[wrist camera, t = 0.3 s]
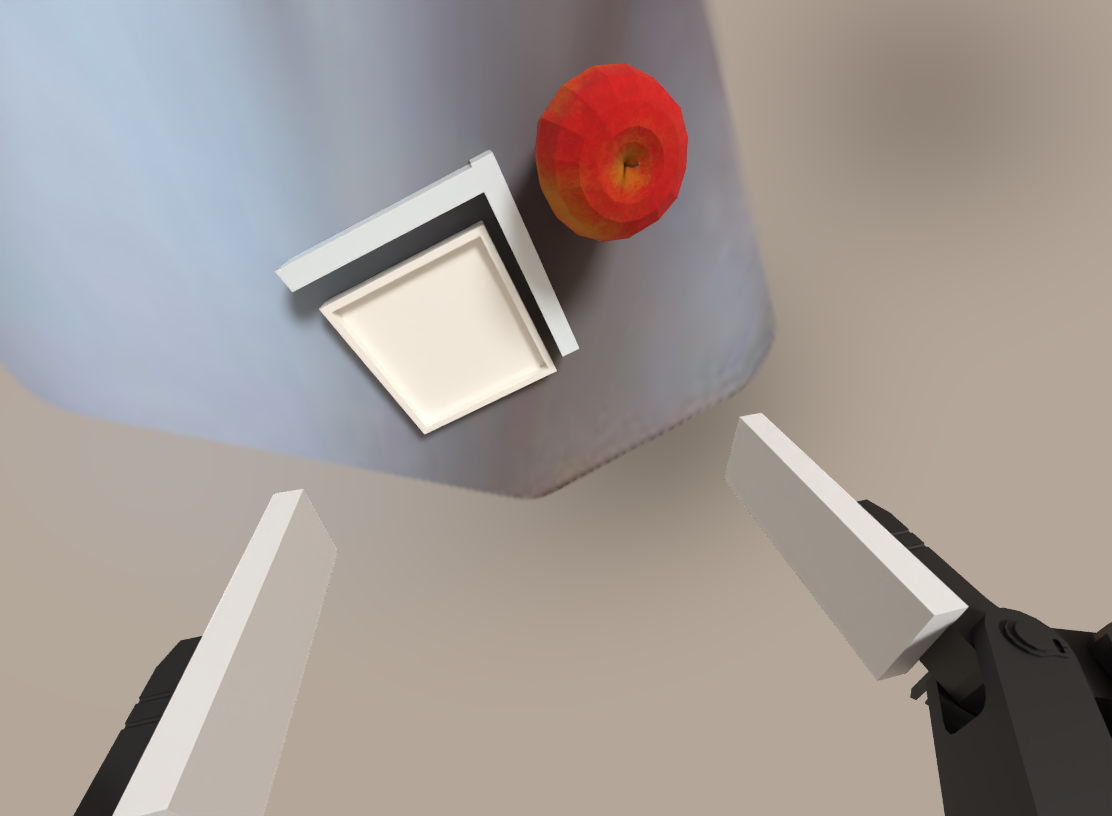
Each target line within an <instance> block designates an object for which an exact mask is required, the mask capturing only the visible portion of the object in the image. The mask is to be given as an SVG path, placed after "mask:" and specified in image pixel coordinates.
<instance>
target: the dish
mask: <svg viewBox="0 0 1112 816" xmlns="http://www.w3.org/2000/svg"><path fill="white" fill-rule="evenodd" d="M319 310H320V311H321V312H322V313H323V315H324V316H325V317H326V318H327V319H328V320H329V322H330V323H331V324H332V325H333V326H334V328H335V329H336V330H337V331H338V332H339V334H340V335H341V336H342V337H343V338H344V339H345V341H346V342H347V343H348V344H349V345H350V347H351V348H352V349H353V350H354V351H355V352H356V354H357V355H358V356H359V357H360V358H361V360H362V361H363V362H364V363H365V364H366V366H367V367H368V368H369V369H370V370H371V371H372V373H373V374H374V375H375V376H376V377H377V379H378V380H379V381H380V382H381V383H382V384H383V386H384V387H385V388H386V389H387V390H388V392H389V393H390V394H391V395H392V396H393V398H394V399H395V400H396V401H397V402H398V403H399V405H400V406H401V407H402V408H403V409H404V411H405V412H406V413H407V414H408V415H409V416H410V418H411V419H412V420H413V421H414V422H415V424H416V425H417V426H418V427H419V428H420V430H421V431H422V432H423V433H424V434H427V433H429V432H431V431H433V430H435V429H437V428H439V427H441V426H443V425H445V424H448V423H450V422H452V421H454V420H456V419H458V418H460V417H462V416H464V415H466V414H468V413H470V412H472V411H475V410H477V409H479V408H481V407H483V406H485V405H487V404H489V403H491V402H493V401H495V400H497V399H499V398H502V397H504V396H506V395H508V394H510V393H512V392H514V391H516V390H518V389H520V388H522V387H524V386H526V385H529V384H531V383H533V382H535V381H537V380H539V379H541V378H543V377H545V376H547V375H549V374H551V373H553V372H556V371H557V370H556V368H555V365H554V363H553V361H552V359H551V357H550V355H549V353H548V351H547V349H546V347H545V345H544V343H543V341H542V339H541V337H540V335H539V333H538V331H537V329H536V327H535V325H534V323H533V321H532V319H531V317H530V315H529V313H528V311H527V309H526V307H525V305H524V303H523V301H522V299H521V297H520V295H519V293H518V291H517V289H516V287H515V285H514V283H513V281H512V279H511V277H510V275H509V273H508V271H507V269H506V267H505V265H504V263H503V261H502V259H501V257H500V255H499V253H498V251H497V249H496V247H495V245H494V243H493V241H492V239H491V237H490V235H489V233H488V231H487V229H486V227H485V225H484V223H483V221H482V220H481V221H479V222H477V223H475V224H473V225H471V226H470V227H468V228H466V229H464V230H462V231H460V232H458V233H456V234H454V235H452V236H450V237H448V238H446V239H444V240H443V241H441V242H439V243H437V244H435V245H433V246H431V247H429V248H427V249H425V250H423V251H421V252H419V253H417V254H415V255H414V256H412V257H410V258H408V259H406V260H404V261H402V262H400V263H398V264H396V265H394V266H392V267H390V268H388V269H387V270H385V271H383V272H381V273H379V274H377V275H375V276H373V277H371V278H369V279H367V280H365V281H363V282H361V283H360V284H358V285H356V286H354V287H352V288H350V289H348V290H346V291H344V292H342V293H340V294H338V295H336V296H334V297H332V298H331V299H329V300H327V301H325V302H324V304H323V305H322V306H321V308H320V309H319Z"/></svg>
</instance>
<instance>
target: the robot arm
mask: <svg viewBox="0 0 1112 816" xmlns="http://www.w3.org/2000/svg"><path fill="white" fill-rule="evenodd" d="M724 480H725V481H726V483H727V484H728V485H729V486H730V488H731V489H732V490H733V492H734V493H735V494H736V496H737V497H738V498H739V500H740V501H741V502H742V504H743V505H744V506H745V508H746V509H747V510H748V512H749V513H750V514H751V515H752V517H753V518H754V519H755V521H756V522H757V523H758V524H759V526H760V527H761V528H762V530H763V531H764V533H765V534H766V535H767V537H768V538H769V539H770V540H771V541H772V543H773V544H774V546H775V547H776V548H777V550H778V551H779V552H780V553H781V555H782V556H783V557H784V559H785V560H786V561H787V563H788V564H789V565H790V567H791V568H792V569H793V571H794V572H795V573H796V575H797V576H798V577H799V579H800V580H801V581H802V582H803V584H804V585H805V586H806V588H807V589H808V590H809V592H810V593H811V594H812V596H813V597H814V598H815V600H816V601H817V602H818V603H819V605H820V606H821V607H822V609H823V610H824V611H825V613H826V614H827V615H828V617H829V618H830V619H831V620H832V622H833V623H834V625H835V626H836V627H837V628H838V630H839V631H840V632H841V634H842V635H843V636H844V638H845V639H846V640H847V641H848V643H849V644H850V646H851V647H852V648H853V649H854V651H855V652H856V653H857V655H858V656H859V657H860V658H861V660H862V661H863V663H864V664H865V665H866V667H867V668H868V669H869V671H870V672H871V673H872V674H873V676H874V677H875V678H876V680H877V681H879V680H883V679H886V678H890V677H894V676H897V675H901V674H905V673H907V672H908V671H909V670H910V669H911V668H912V667H913V666H914V665H915V664H916V663H917V661H918V660H920V662H922V663H923V665H924V666H925V667H926V668H927V669H928V671H929V672H928V673H927V674H926V675H925V676H924V677H923V678H922V679H921V680H920V681H919V682H918V683H917V684H916V685H915V686H914V687H913V688H912V689H911V696H910V697H911V698H913V699H915V700H917V699H918V698H919V697H920V696H921V695H922V694H923V693H924V692H925V691H926V690H927V697H928V699H927V700H926V702H925V704H927V705H929V710H930V717H931V724H932V731H933V738H934V744H935V751H936V758H937V765H938V771H939V778H940V784H941V792H942V798H943V805H944V812H945V816H1112V622H1111V623H1109V624H1108V625H1106V626H1105V627H1104V628H1102V629H1101V630H1100V631H1098V632H1097V633H1092V632H1083V631H1074V630H1065V629H1055V628H1050V627H1048V626H1047V625H1045V624H1044V623H1042V622H1041V621H1039V620H1037V619H1036V618H1034V617H1031V616H1029V615H1027V614H1025V613H1022V612H1020V611H1016V610H1012V609H1007V608H999V607H997V606H996V605H994V604H993V603H992V602H990V601H989V600H988V599H987V598H985V597H984V596H983V595H982V594H981V593H980V592H979V591H978V590H976V589H975V588H974V587H973V586H972V585H971V584H970V583H969V582H967V581H966V580H965V579H964V578H963V577H962V576H961V575H960V574H958V573H957V572H956V571H955V570H954V569H953V568H952V567H951V566H949V565H948V564H947V563H946V562H945V561H944V560H943V559H942V558H940V557H939V556H938V555H937V554H936V553H935V552H934V551H932V550H931V549H930V548H929V547H926V546H925V545H924V542H922V541H921V540H920V539H919V538H918V537H917V536H916V535H915V534H913V533H910V532H909V530H908V528H907V527H906V526H904V525H903V524H902V523H901V522H900V521H899V520H898V519H896V518H895V517H894V516H893V515H892V514H891V513H889V512H888V511H886V510H884V509H883V508H881V507H879V506H877V505H875V504H874V503H872V502H870V501H868V500H862V501H858V502H856V501H855V500H854V499H853V498H852V497H851V496H850V495H849V494H848V493H847V492H845V491H844V490H843V489H842V488H841V487H840V486H839V485H838V484H837V483H836V482H835V481H834V480H833V479H831V478H830V477H829V476H828V475H827V474H826V473H825V472H824V471H823V470H822V469H821V468H820V467H818V465H817V464H816V463H814V462H813V461H812V460H811V459H810V458H809V457H808V456H807V455H806V454H805V453H804V452H803V451H802V450H800V449H799V448H798V447H797V446H796V445H795V444H794V443H793V442H792V441H791V440H790V439H789V438H787V437H786V435H784V434H783V433H782V432H781V431H780V430H779V429H778V428H777V427H776V426H775V425H774V424H773V423H772V422H770V421H769V420H768V419H767V418H766V417H765V416H764V415H763V414H762V413H759V414H753V415H747V416H741V417H739V421H738V425H737V429H736V433H735V437H734V441H733V445H732V449H731V453H730V458H729V461H728V465H727V469H726V473H725V477H724ZM337 553H338V551H337V549H336V547H335V545H334V543H333V542H332V540H331V538H330V536H329V534H328V533H327V531H326V529H325V527H324V525H323V523H322V522H321V520H320V518H319V516H318V515H317V513H316V511H315V509H314V507H313V505H312V504H311V502H310V500H309V498H308V497H307V495H306V493H305V491H304V489H300V490H294V491H288V492H282V493H276V494H274V495H273V497H272V498H271V500H270V502H269V505H268V506H267V508H266V510H265V512H264V515H263V516H262V518H261V521H260V522H259V524H258V526H257V528H256V530H255V532H254V534H253V536H252V538H251V540H250V542H249V544H248V546H247V548H246V551H245V552H244V554H243V556H242V558H241V561H240V562H239V564H238V567H237V568H236V570H235V572H234V574H233V576H232V578H231V580H230V582H229V584H228V586H227V588H226V590H225V592H224V594H223V596H222V598H221V600H220V602H219V604H218V606H217V608H216V610H215V612H214V614H213V616H212V618H211V620H210V622H209V624H208V626H207V628H206V630H205V632H204V634H203V636H200V637H195V638H191V639H186V640H181V641H180V642H179V643H178V644H177V645H176V646H175V647H174V648H173V650H172V651H171V652H170V653H169V654H168V655H167V656H166V657H165V659H164V660H163V661H162V662H161V663H160V664H159V665H158V666H157V667H156V669H155V671H154V672H153V674H152V676H151V678H150V680H149V681H148V683H147V685H146V687H145V688H144V690H143V692H142V694H141V696H140V697H139V699H140V701H139V703H138V704H136V705H135V706H134V708H133V710H132V712H131V713H130V715H129V717H128V719H127V721H126V723H125V724H126V726H125V728H124V729H123V730H121V731H120V733H119V735H118V737H117V739H116V740H115V742H114V744H113V746H112V747H111V749H110V751H109V753H108V755H107V757H106V759H105V760H104V762H103V764H102V765H101V767H100V769H99V771H98V773H97V774H96V776H95V778H94V780H93V781H92V783H91V785H90V787H89V789H88V790H87V792H86V794H85V796H84V798H83V799H82V801H81V803H80V805H79V807H78V808H77V810H76V812H75V814H74V816H263V815H264V812H265V808H266V805H267V801H268V797H269V794H270V791H271V787H272V783H273V780H274V776H275V773H276V769H277V766H278V762H279V759H280V755H281V751H282V748H283V745H284V741H285V737H286V734H287V730H288V727H289V723H290V720H291V716H292V712H293V709H294V705H295V702H296V698H297V695H298V691H299V688H300V684H301V681H302V677H303V673H304V670H305V666H306V663H307V659H308V656H309V652H310V649H311V645H312V642H313V638H314V634H315V631H316V627H317V624H318V620H319V617H320V613H321V609H322V606H323V603H324V599H325V595H326V592H327V588H328V585H329V581H330V578H331V574H332V570H333V567H334V563H335V560H336V556H337Z"/></svg>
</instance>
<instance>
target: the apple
mask: <svg viewBox="0 0 1112 816" xmlns="http://www.w3.org/2000/svg"><path fill="white" fill-rule="evenodd" d="M687 144H688V136H687V132H686V128H685V124H684V120H683V116H682V112H681V108H680V107H679V106H678V104H677V103H676V102H675V101H674V100H673V99H672V97H671V96H670V95H669V94H668V93H667V92H666V90H665V89H664V88H663V87H662V86H661V85H660V84H659V83H658V82H657V80H656V79H655V78H654V77H652V76H650V75H648V74H646V73H644V72H642V71H640V70H638V69H636V68H634V67H632V66H630V65H628V64H611V65H597V66H592V67H590V68H589V69H587V70H586V71H584V72H582V73H581V74H579V75H578V76H576V77H575V78H573V79H571V80H570V81H568V82H567V83H565V84H564V85H562V87H561V88H560V89H559V91H558V92H557V93H556V95H555V96H554V98H553V99H552V101H551V103H550V104H549V106H548V107H547V109H546V110H545V112H544V113H543V115H542V116H541V118H540V119H539V121H538V127H537V137H536V146H535V159H536V165H537V171H538V177H539V183H540V186H541V189H542V192H543V193H544V195H545V197H546V199H547V201H548V202H549V204H550V206H551V208H552V210H553V212H554V213H555V215H556V217H557V218H558V219H559V220H561V221H562V222H563V223H564V224H565V225H567V226H568V227H569V228H570V229H571V230H572V231H574V232H575V233H576V234H577V235H580V236H584V237H587V238H591V239H595V240H599V241H602V242H604V241H611V240H618V239H625V238H630V237H631V236H633V235H635V234H636V233H638V232H640V231H641V230H643V229H644V228H646V227H648V226H649V225H651V224H653V223H654V222H656V221H658V220H659V219H660V218H661V217H662V215H663V214H664V213H665V212H666V211H667V209H668V208H669V207H670V206H671V204H672V203H673V202H674V201H675V200H676V198H677V197H678V193H679V190H680V187H681V184H682V180H683V177H684V174H685V170H686V161H687Z"/></svg>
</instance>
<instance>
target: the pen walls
mask: <svg viewBox="0 0 1112 816" xmlns="http://www.w3.org/2000/svg"><path fill="white" fill-rule="evenodd" d="M469 161H470V164H468V165H466V166H464V167H462V168H460V169H458V170H456V171H455V172H453V173H451V174H449V175H447V176H445V177H443V178H441V179H439V180H438V181H436V182H434V183H432V184H430V185H428V186H426V187H424V188H422V189H421V190H419V191H417V192H415V193H413V194H411V195H409V196H407V197H406V198H404V199H402V200H400V201H398V202H396V203H394V204H392V205H390V206H389V207H387V208H385V209H383V210H381V211H379V212H377V213H375V214H373V215H372V216H370V217H368V218H366V219H364V220H362V221H360V222H358V223H357V224H355V225H353V226H351V227H349V228H347V229H345V230H343V231H341V232H340V233H338V234H336V235H334V236H332V237H330V238H328V239H326V240H324V241H323V242H321V243H319V244H317V245H315V246H313V247H311V248H309V249H308V250H306V251H304V252H302V253H300V254H298V255H296V256H294V257H292V258H291V259H290V260H288V261H287V262H286V263H285V264H283V265H282V266H281V267H280V268H279V269H277V270H276V271H275V272H276V273H277V275H278V276H279V277H280V278H281V279H282V280H283V282H284V283H285V284H286V285H287V286H288V287H289V289H290V290H291V291H292V292H294V291H296V290H298V289H300V288H302V287H303V286H305V285H307V284H309V283H311V282H313V281H315V280H317V279H319V278H321V277H323V276H324V275H326V274H328V273H330V272H332V271H334V270H336V269H338V268H340V267H342V266H344V265H345V264H347V263H349V262H351V261H353V260H355V259H357V258H359V257H361V256H363V255H365V254H366V253H368V252H370V251H372V250H374V249H376V248H378V247H380V246H382V245H384V244H386V243H387V242H389V241H391V240H393V239H395V238H397V237H399V236H401V235H403V234H405V233H407V232H409V231H410V230H412V229H414V228H416V227H418V226H420V225H422V224H424V223H426V222H428V221H430V220H431V219H433V218H435V217H437V216H439V215H441V214H443V213H445V212H447V211H449V210H451V209H452V208H454V207H456V206H458V205H460V204H462V203H464V202H466V201H468V200H470V199H472V198H473V197H475V196H477V195H479V194H481V193H483V192H484V193H485V195H486V197H487V199H488V201H489V203H490V205H491V207H492V209H493V212H494V214H495V216H496V218H497V220H498V222H499V224H500V226H501V228H502V230H503V232H504V235H505V237H506V239H507V241H508V243H509V245H510V247H511V249H512V251H513V253H514V256H515V258H516V260H517V262H518V264H519V266H520V268H521V270H522V272H523V274H524V276H525V279H526V281H527V283H528V285H529V287H530V289H531V291H532V293H533V295H534V297H535V299H536V302H537V304H538V306H539V308H540V310H541V312H542V314H543V316H544V318H545V320H546V322H547V325H548V327H549V329H550V331H551V333H552V335H553V337H554V339H555V341H556V343H557V345H558V348H559V350H560V352H561V354H562V356H565V355H567V354H569V353H571V352H573V351H575V350H577V349H579V347H578V345H577V342H576V340H575V338H574V336H573V333H572V331H571V329H570V327H569V324H568V322H567V320H566V317H565V315H564V313H563V311H562V308H561V306H560V304H559V302H558V299H557V297H556V295H555V293H554V290H553V288H552V286H551V284H550V281H549V279H548V277H547V274H546V272H545V270H544V268H543V265H542V263H541V261H540V259H539V256H538V254H537V252H536V250H535V247H534V245H533V243H532V241H531V238H530V236H529V234H528V231H527V229H526V227H525V225H524V222H523V220H522V218H521V216H520V213H519V211H518V209H517V207H516V204H515V202H514V200H513V198H512V195H511V193H510V191H509V189H508V186H507V184H506V182H505V179H504V177H503V175H502V173H501V170H500V168H499V166H498V164H497V161H496V159H495V157H494V155H493V152H491V151H490V150H487V151H485V152H483V153H482V154H480V155H478V156H476V157H474V158H472V159H470V160H469Z"/></svg>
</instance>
